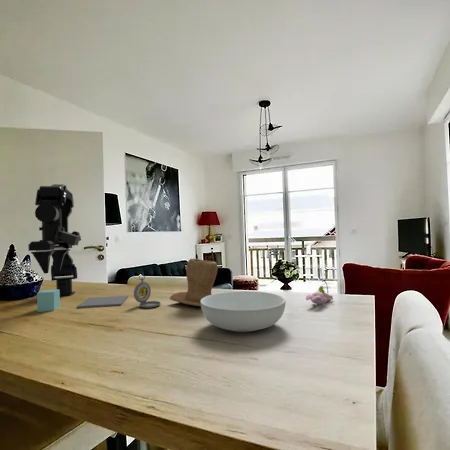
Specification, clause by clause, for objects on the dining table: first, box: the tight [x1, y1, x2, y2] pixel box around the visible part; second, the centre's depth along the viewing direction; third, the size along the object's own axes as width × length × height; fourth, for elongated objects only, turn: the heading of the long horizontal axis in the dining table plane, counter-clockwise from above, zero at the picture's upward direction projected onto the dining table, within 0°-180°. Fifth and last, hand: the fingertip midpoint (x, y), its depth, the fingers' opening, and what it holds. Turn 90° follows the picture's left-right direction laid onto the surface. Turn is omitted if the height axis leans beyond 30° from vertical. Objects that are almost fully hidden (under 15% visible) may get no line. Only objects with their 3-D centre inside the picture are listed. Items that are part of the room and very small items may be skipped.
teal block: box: [36, 288, 61, 313], centre depth 106 cm, size 5×5×6 cm
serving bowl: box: [200, 290, 287, 333], centre depth 80 cm, size 21×21×7 cm
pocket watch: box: [133, 274, 161, 309], centre depth 106 cm, size 8×8×10 cm
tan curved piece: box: [169, 258, 219, 307], centre depth 106 cm, size 15×12×15 cm
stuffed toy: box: [305, 285, 334, 306], centre depth 100 cm, size 6×6×15 cm
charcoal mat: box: [76, 295, 129, 309], centre depth 114 cm, size 14×14×1 cm
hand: (52, 271), depth 106 cm, fingers open, 9 cm apart
